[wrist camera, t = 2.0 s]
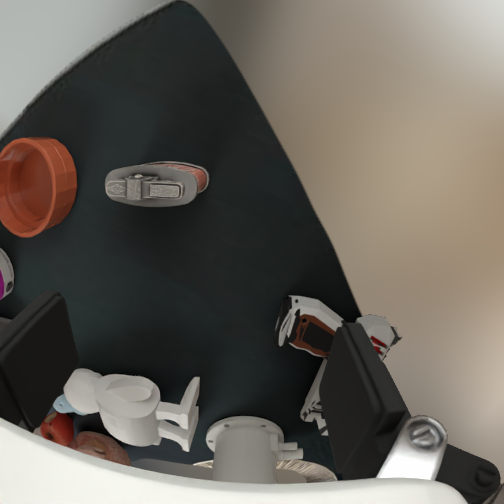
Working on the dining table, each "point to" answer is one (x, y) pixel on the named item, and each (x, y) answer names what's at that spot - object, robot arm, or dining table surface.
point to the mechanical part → (65, 406)
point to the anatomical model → (100, 447)
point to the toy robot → (134, 407)
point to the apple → (58, 428)
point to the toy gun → (323, 340)
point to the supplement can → (5, 275)
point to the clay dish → (35, 185)
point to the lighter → (157, 184)
